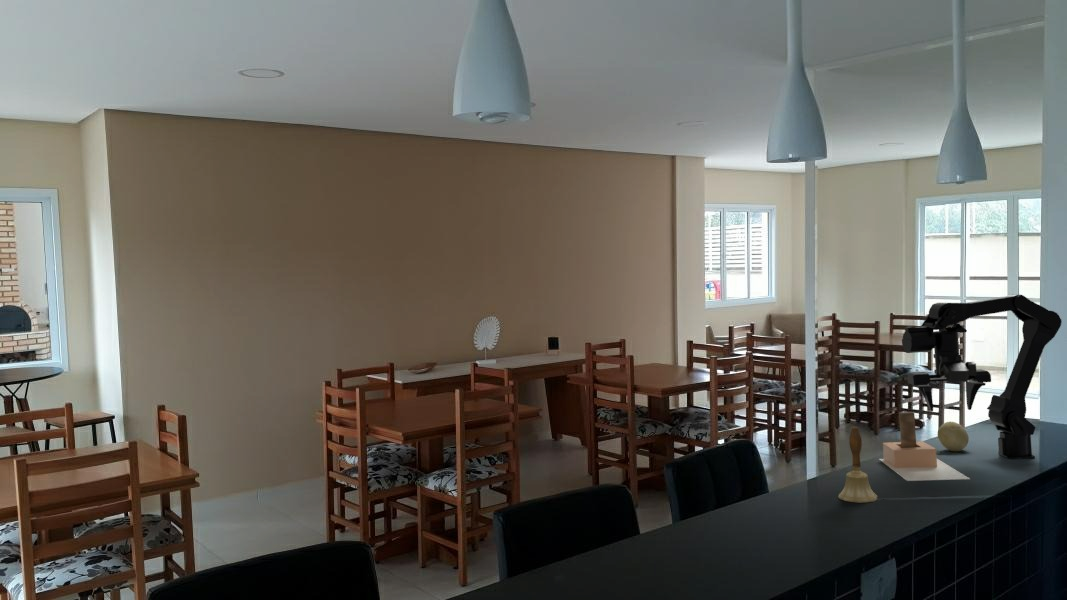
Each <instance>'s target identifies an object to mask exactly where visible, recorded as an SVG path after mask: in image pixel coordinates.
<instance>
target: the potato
mask: <svg viewBox="0 0 1067 600" xmlns="http://www.w3.org/2000/svg"><path fill="white" fill-rule="evenodd" d="M969 438H970V437H969V434H968V431H967V430H966V429H965V428H964V426H963V425H961V424H960V423H957V422H955V421H946V422H944V423H942V424H941V425H940V426H939V428H938V430H937V439H938V441H939V442H940V444H941V445H942V446H943V447H944V448H945V449H947V450H948V451H950V452H951V451H952V452H960V451H962V450H964V449H965V448H966V447H968V443H969Z"/></svg>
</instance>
